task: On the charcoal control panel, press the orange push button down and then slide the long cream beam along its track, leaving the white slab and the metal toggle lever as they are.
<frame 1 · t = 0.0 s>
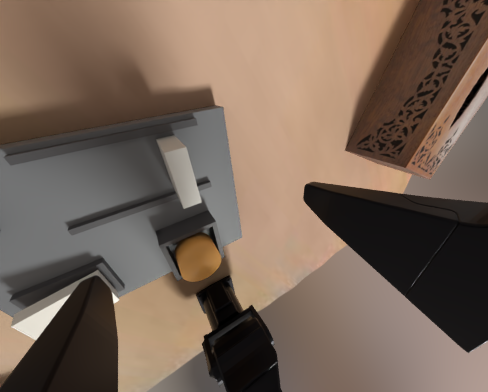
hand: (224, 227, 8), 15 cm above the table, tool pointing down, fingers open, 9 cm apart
long cream beam: (178, 170, 16), point 4 cm above the table, slide at 0.0 cm
push button: (198, 256, 21), point 5 cm above the table, slide at 0.0 cm
white slab: (73, 306, 17), point 4 cm above the table, hinge at 10.0°
panel: (128, 214, 20), on the table
tissue box cover: (396, 90, 34), on the table
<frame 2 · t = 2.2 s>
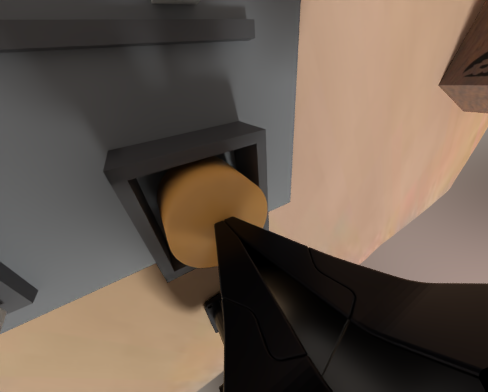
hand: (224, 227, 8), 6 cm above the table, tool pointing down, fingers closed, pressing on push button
push button: (211, 208, 9), point 4 cm above the table, slide at 0.9 cm, touching gripper
panel: (34, 104, 7), on the table
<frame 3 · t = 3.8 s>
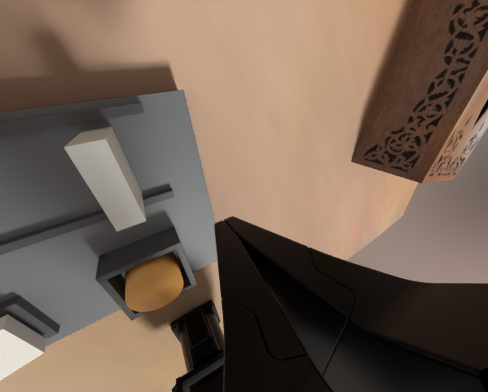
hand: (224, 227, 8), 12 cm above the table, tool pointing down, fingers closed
long cream beam: (113, 175, 11), point 4 cm above the table, slide at 0.0 cm
push button: (154, 278, 17), point 4 cm above the table, slide at 1.2 cm
panel: (63, 234, 15), on the table
tissue box cover: (404, 83, 30), on the table
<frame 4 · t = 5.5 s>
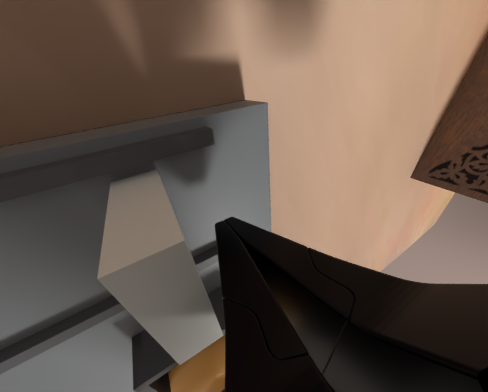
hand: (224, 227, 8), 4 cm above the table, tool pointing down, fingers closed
long cream beam: (167, 259, 7), point 4 cm above the table, slide at 0.2 cm, touching gripper
push button: (204, 357, 12), point 4 cm above the table, slide at 1.2 cm
panel: (80, 309, 11), on the table
tissue box cover: (479, 80, 25), on the table
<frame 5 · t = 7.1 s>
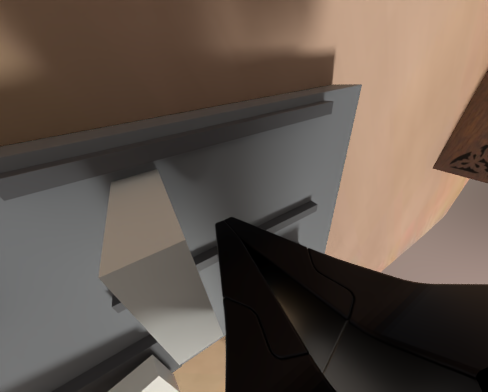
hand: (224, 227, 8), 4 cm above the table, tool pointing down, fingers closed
long cream beam: (167, 259, 7), point 4 cm above the table, slide at 6.8 cm, touching gripper
panel: (191, 255, 13), on the table
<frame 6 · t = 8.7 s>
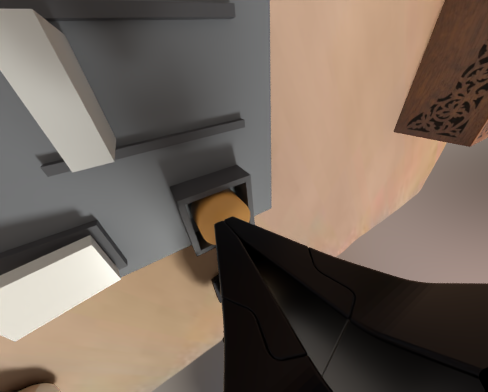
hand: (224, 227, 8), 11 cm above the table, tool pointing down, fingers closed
long cream beam: (68, 99, 8), point 4 cm above the table, slide at 6.8 cm
push button: (220, 214, 16), point 4 cm above the table, slide at 1.2 cm
white slab: (54, 285, 12), point 4 cm above the table, hinge at 10.0°
garlic bulb: (28, 389, 20), on the table
panel: (132, 163, 15), on the table
tissue box cover: (449, 38, 29), on the table
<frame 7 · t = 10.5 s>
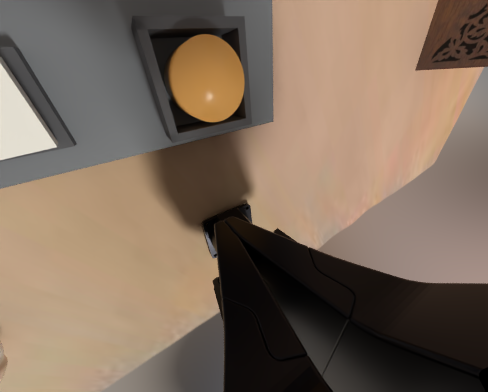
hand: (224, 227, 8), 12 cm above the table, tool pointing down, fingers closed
push button: (204, 83, 12), point 4 cm above the table, slide at 1.2 cm
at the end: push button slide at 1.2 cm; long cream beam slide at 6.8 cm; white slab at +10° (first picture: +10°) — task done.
